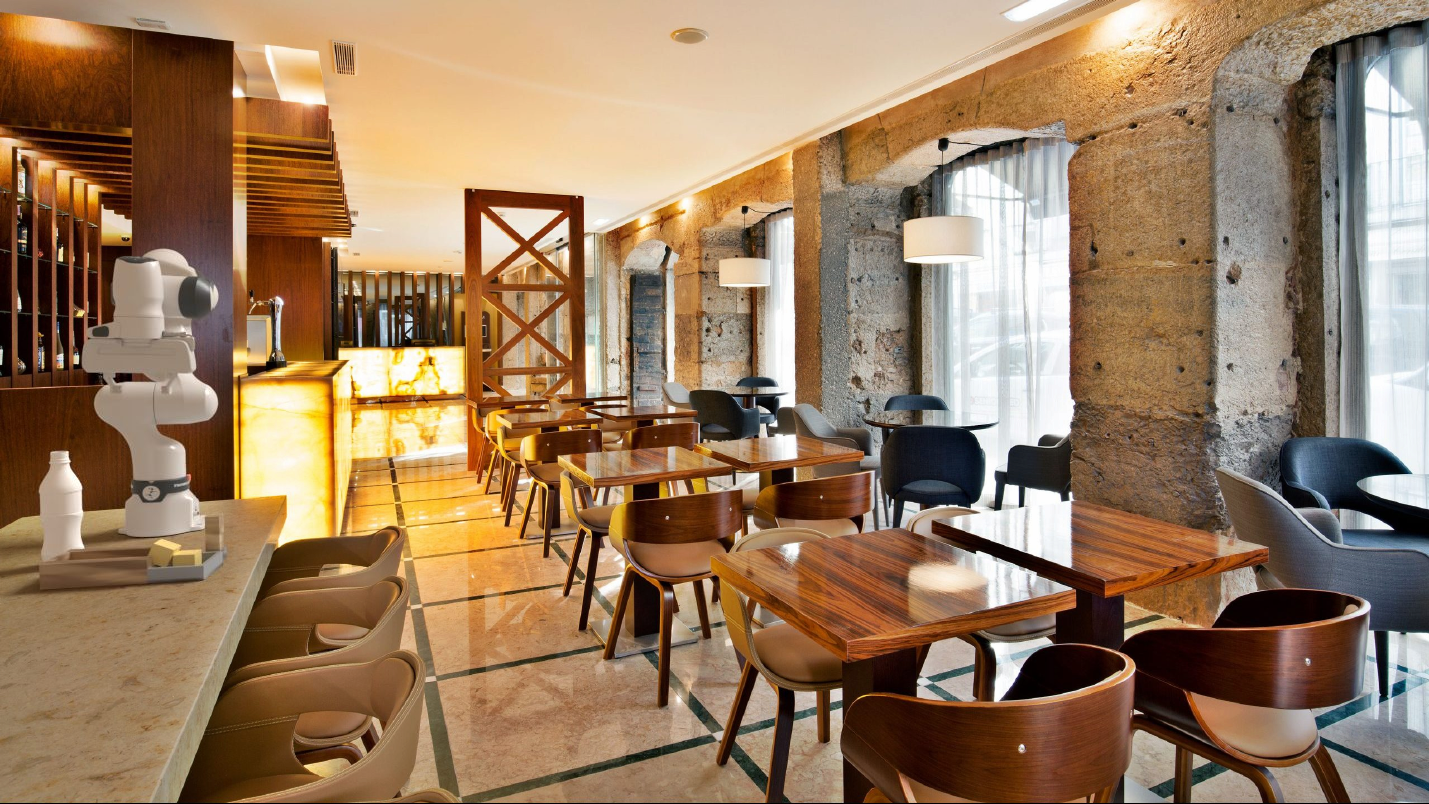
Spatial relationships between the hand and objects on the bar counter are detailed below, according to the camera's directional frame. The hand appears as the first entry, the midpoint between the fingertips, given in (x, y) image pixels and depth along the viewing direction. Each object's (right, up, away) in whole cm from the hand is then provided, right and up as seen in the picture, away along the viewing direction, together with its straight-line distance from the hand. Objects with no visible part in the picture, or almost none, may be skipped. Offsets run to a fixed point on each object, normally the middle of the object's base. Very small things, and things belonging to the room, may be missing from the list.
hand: (141, 393), depth 166 cm
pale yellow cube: (+13, -36, -4) cm, 39 cm away
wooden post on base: (+13, -38, +5) cm, 40 cm away
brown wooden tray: (0, -39, -9) cm, 39 cm away
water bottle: (-17, -38, 0) cm, 41 cm away
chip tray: (+13, -39, -5) cm, 41 cm away
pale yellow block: (+10, -34, -6) cm, 36 cm away
